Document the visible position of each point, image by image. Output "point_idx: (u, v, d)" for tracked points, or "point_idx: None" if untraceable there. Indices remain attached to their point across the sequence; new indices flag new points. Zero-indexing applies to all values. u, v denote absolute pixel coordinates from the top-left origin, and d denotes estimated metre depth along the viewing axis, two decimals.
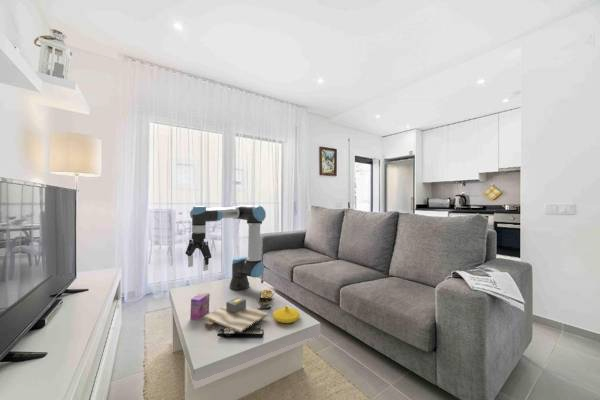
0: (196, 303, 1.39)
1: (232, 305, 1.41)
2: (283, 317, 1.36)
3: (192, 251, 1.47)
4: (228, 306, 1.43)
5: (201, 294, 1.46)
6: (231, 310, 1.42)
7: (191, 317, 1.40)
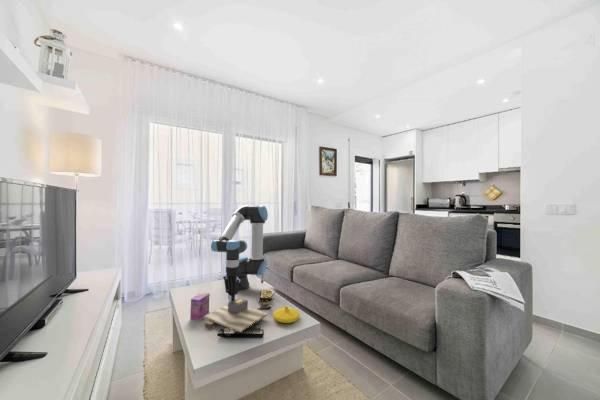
0: (196, 303, 1.39)
1: (234, 306, 1.41)
2: (283, 317, 1.36)
3: None
4: (230, 307, 1.42)
5: (201, 294, 1.46)
6: (233, 311, 1.41)
7: (191, 317, 1.40)
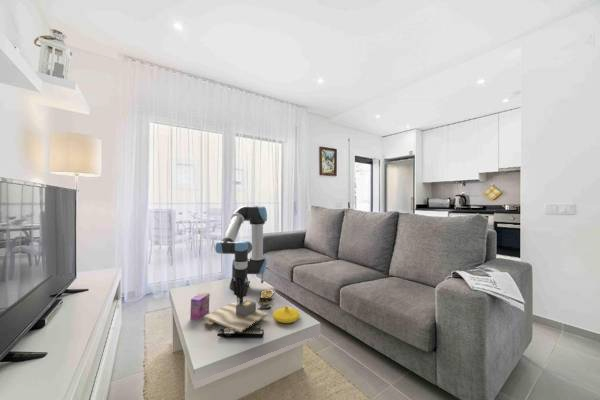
0: (196, 303, 1.39)
1: (242, 308, 1.37)
2: (283, 317, 1.36)
3: (239, 289, 1.45)
4: (238, 309, 1.39)
5: (201, 294, 1.46)
6: (241, 313, 1.38)
7: (191, 317, 1.40)
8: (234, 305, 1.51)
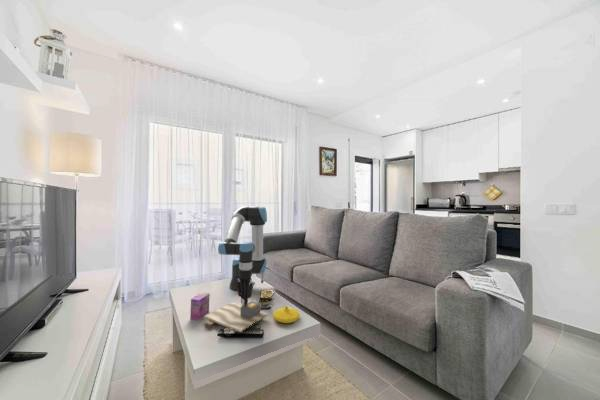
0: (196, 303, 1.39)
1: (247, 310, 1.36)
2: (283, 317, 1.36)
3: None
4: (242, 311, 1.37)
5: (201, 294, 1.46)
6: (246, 315, 1.36)
7: (191, 317, 1.40)
8: (234, 305, 1.51)
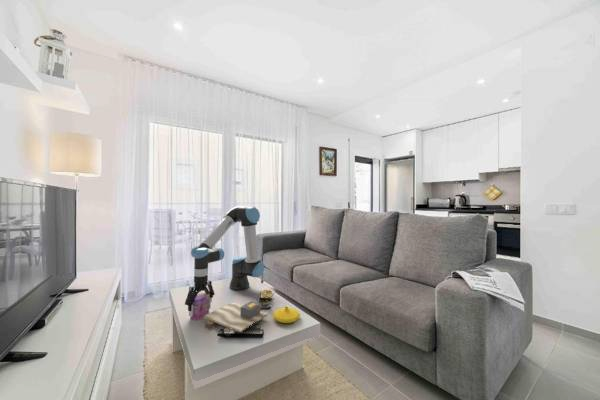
0: (196, 303, 1.39)
1: (247, 310, 1.36)
2: (283, 317, 1.36)
3: None
4: (242, 311, 1.37)
5: (201, 294, 1.46)
6: (246, 315, 1.36)
7: (191, 317, 1.40)
8: (234, 305, 1.51)
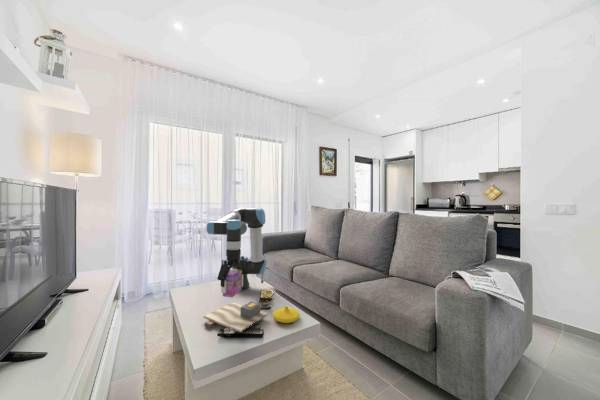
0: (229, 279, 1.26)
1: (247, 310, 1.36)
2: (283, 317, 1.36)
3: (239, 269, 1.35)
4: (242, 311, 1.37)
5: (233, 270, 1.34)
6: (246, 315, 1.36)
7: (224, 294, 1.27)
8: (234, 305, 1.51)
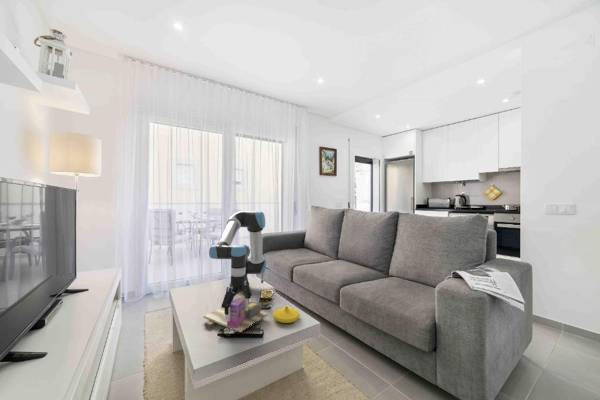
0: (234, 309, 1.25)
1: None
2: (283, 317, 1.36)
3: (244, 294, 1.34)
4: None
5: (237, 298, 1.32)
6: (246, 315, 1.36)
7: (228, 324, 1.25)
8: None
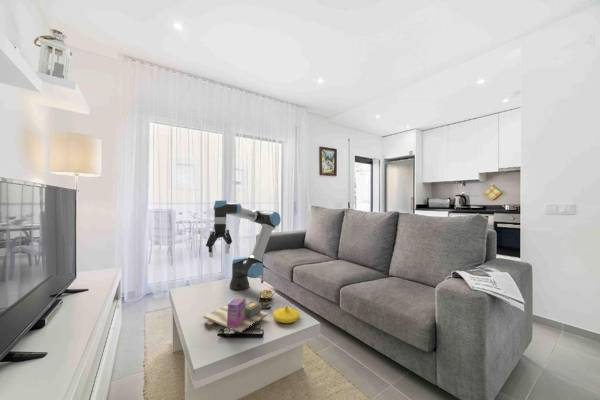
0: (233, 309, 1.25)
1: (247, 310, 1.36)
2: (283, 317, 1.36)
3: (225, 240, 1.67)
4: None
5: (237, 299, 1.32)
6: (246, 315, 1.36)
7: (228, 324, 1.25)
8: None
